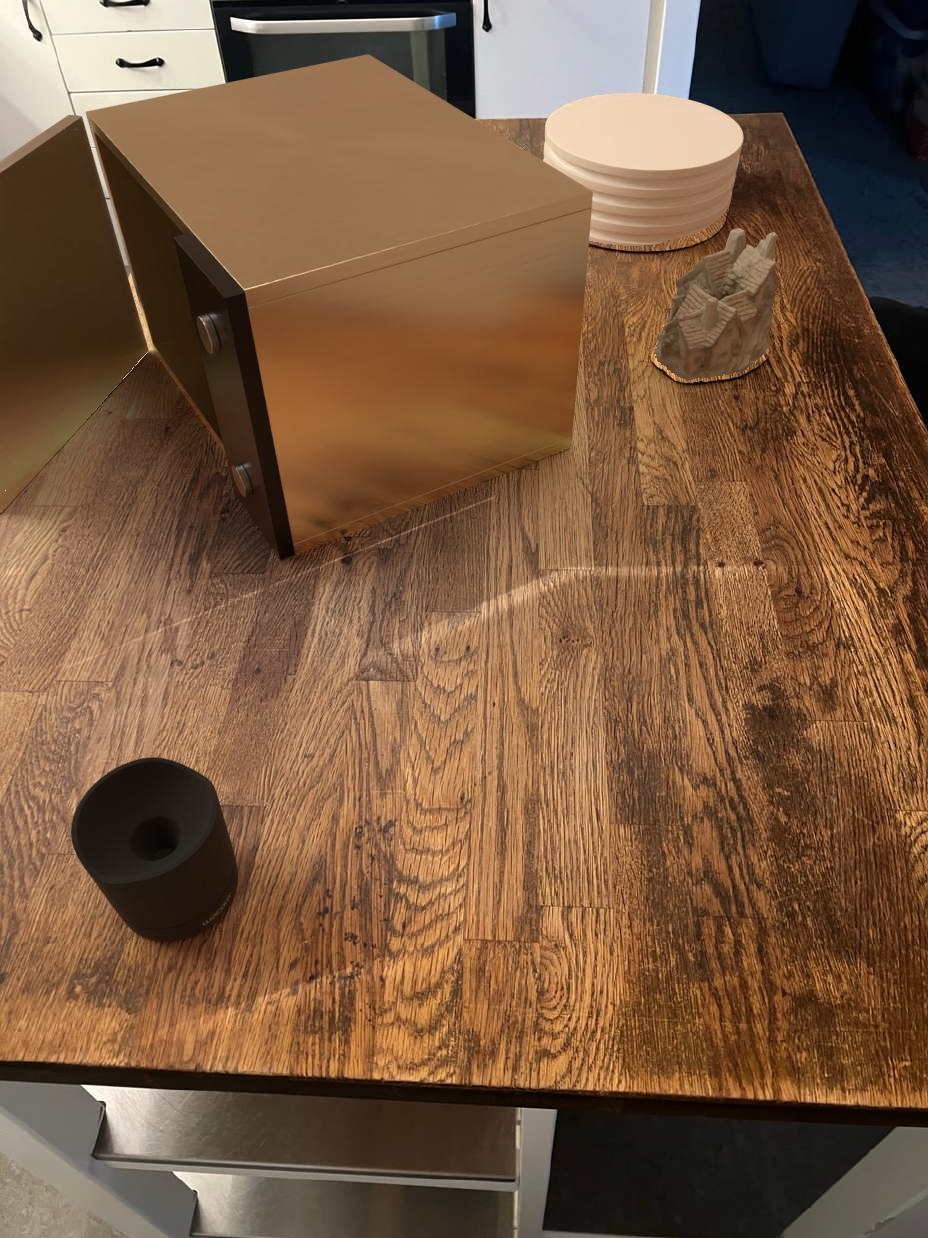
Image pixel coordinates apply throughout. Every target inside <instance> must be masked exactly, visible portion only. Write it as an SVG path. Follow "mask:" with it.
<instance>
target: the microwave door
mask: <svg viewBox="0 0 928 1238" xmlns="http://www.w3.org/2000/svg"><path fill="white" fill-rule="evenodd" d="M106 198H107V197H106V195H105V192H104V187H103V185H102V182H101V178H100V175H99V170H98V167H97V164H96V160H95V157H94V153H93V150H92V146H91V142H90V139H89V136H88V132H87V129H86V125H85V121H84V118H83V116H82V115H76V114H68V115H66V116H65V117H63V118H62V119H60V120H59V121H57V122H55V123H54V124H53V125H51V126H50V127H48V128H47V129H44V131H42V132H41V133H39V134H38V135H36V136H35V137H33V138H32V139H30V140H29V141H27V142H26V143H25V144H23V145H22V146H20V147H19V148H17V149H16V150H14V151H13V152H11V153H10V154H9V155H7V156H5V157H4V158H2V159H1V160H0V514H2V513H3V512H4V511H5V510H7V508H8V507H9V506H10V505H11V504H12V503H13V501H14V500H16V498H17V497H18V496H19V495H20V494H21V493H22V492H23V491H24V489H25V488H27V486H28V485H29V484H30V483H31V482H32V481H33V480H34V478H36V476H37V475H38V474H39V473H40V472H41V471H42V470H43V469H44V467H46V466H47V464H48V463H49V462H50V461H51V460H52V459H53V458H54V457H55V456H56V455H57V454H58V453H59V451H60V450H61V449H62V448H63V447H64V446H65V445H66V444H67V443H68V442H69V441H70V439H71V438H72V437H74V435H75V434H76V433H77V432H78V431H79V430H80V429H81V427H83V425H84V424H85V423H86V422H87V421H88V420H89V419H90V418H91V416H92V415H93V414H95V412H96V411H97V410H98V409H99V408H100V407H101V406H102V405H103V403H104V402H105V401H106V400H107V399H106V397H108V395H109V394H110V393H111V392H112V391H113V390H114V388H115V387H116V386H117V385H118V384H119V383H120V382H121V381H122V380H123V378H124V377H125V376H126V375H127V374H128V373H129V372H130V371H131V370H132V368H133V367H135V365H136V364H137V363H138V361H139V360H140V359H141V358H142V357H143V356H144V355H145V354H146V353H147V352H148V351H149V352H150V350H149V346H148V343H147V339H146V334H145V332H144V329H143V324H142V322H141V318H140V314H139V312H138V311H139V310H138V308H137V304H136V300H135V297H134V294H133V290H132V286H131V283H130V279H129V276H128V273H127V272H128V271H127V268H126V266H125V261H124V259H123V255H122V252H121V248H120V244H119V240H118V238H117V234H116V231H115V227H114V224H113V219H112V216H111V213H110V212H111V211H110V209H109V205H108V202H107V199H106ZM135 368H136V367H135ZM123 381H124V380H123ZM114 391H115V390H114ZM114 391H113V392H114ZM113 392H112V393H113ZM108 398H109V397H108ZM105 399H106V400H105ZM104 400H105V401H104ZM102 402H103V403H102ZM99 406H100V407H99ZM98 407H99V408H98ZM97 408H98V409H97ZM91 414H92V415H91ZM88 418H89V419H88ZM87 419H88V420H87ZM5 490H6V491H5Z"/></svg>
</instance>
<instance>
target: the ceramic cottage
mask: <svg viewBox="0 0 928 1238" xmlns="http://www.w3.org/2000/svg"><path fill="white" fill-rule="evenodd" d="M746 236H747V234H746V232H745V230H744V229H743V228H740V227H737V228H732V230H731V231H729V234H728V237H727V240H726V244H725V248H724V249H723V250H720V251H717V252H716V253H713V254H709V255H706V256H703V257H701V259H700V260H699V261H698V262H697V263H696V265H694V266H693V268H692V269H690V270H689V271H687V272H686V273H685V274H684V275H682V276H679V277H678V278H677V279H676V282H675V283H676V287H677V289H676V293H675V294H674V295H673V296H672V298H671V301H672V303H673V304H672V308H671V309H669V311H670V316H669V318H667V319H666V321H665V322H667V323H668V322H669V323H670V324H667V325H666V326H664V327H663V330H662V331H660V330H659V332H658V334H657V337H658V341H659V342H658V344H657V345H656V347H657V348H656V349H653V348H652V350H655V352H654V353H653V354H656V356H655V358H657V361H658V362H660V363H661V365H664V366H666V367H667V370H670V371H671V373H674V374H675V375H677V376H678V377H680V378H683V379H686V380H693V379H695V378H701V379H702V378H709V377H710V378H711V377H714V376H716V377H717V376H721V375H722V376H723V374H725V375H729V374H733V373H735V372H736V373H737V372H740V371H744V370H746V369H747V368H748V367H749V366H751V365H752V364H753V362H754V361H756V360H757V359H758V358H760V357H761V356H762V355H763V354H764V353H765V352H766V350H767V349H768V348H769V346H770V347H771V345H770V330H771V327H772V324H773V320H774V313H773V309H772V307H773V303H774V300H775V297H776V292H777V290H778V289H779V287H780V286H782V285H781V281H782V280H781V277H779V274H778V272H777V268H776V264H777V262H776V261H774V259H775V256H776V243H777V240H778V237H779V235H778V234H777V233H776V232H774V231H772V232H769V233H768V234H766V236H765V238H764V239H761V240H760V241H759V243H758V244H757V246H756V247H754V246H753V245H751V244H747V245H746V238H747V237H746ZM671 321H672V322H671Z"/></svg>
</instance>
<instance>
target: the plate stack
mask: <svg viewBox="0 0 928 1238" xmlns="http://www.w3.org/2000/svg"><path fill="white" fill-rule="evenodd" d="M544 127H545V128H544V143H543V159H542V161H544V162H545V163H547V164H549V165H550V166H552V167H554V168H555V169H557V170H558V171H560V172H562V173H563V174H565V175H567V176H568V177H570V178H572V179H573V180H575V181H576V182H578V183H580V184H581V185H583V186H585V187H586V188H588V189H589V190H591V191H593V198H592V212H591V224H590V236H589V241H593V242H599V243H603V244H612V245H624V246H644V245H655V244H660V243H663V242H664V241H666V240H667V241H668V240H671V241H672V240H673V239H676V238H681V237H684V236H690V235H692V234H694V233H696V232H699V231H701V230H703V229H704V228H707V227H708V226H710V225H711V224H713V223H714V222H715V221H716V220H717V219H718V218H720V217H721V216H722V215H723V214H724V213H725V212H726V210H727V209H728V210H729V207H730V205H731V201H732V196H733V189H734V186H735V182H736V176H737V170H738V169H739V168H738V167H739V164H740V154H741V151H742V149H743V143H744V132H743V130H742V127H741V126H740V125H739V123H738V122H737V121H735V119H733V118H732V117H731V116H730V115H728V114H727V113H725V112H722V111H721V110H719V109H717V108H715V107H713V106H710V105H708V104H705V103H702V102H698V101H695V100H691V99H687V98H683V97H679V96H672V95H666V94H659V93H658V94H657V93H646V92H616V93H605V94H597V95H591V96H586V97H583V98H579V99H576V100H572V101H570V102H568V103H565V104H563V105H561V106H559V107H558V108H556V109H555V110H554V111H552V113H550V114H549V116H548V117H547V119H546V121H545V126H544ZM667 241H666V242H667ZM671 241H670V242H671ZM666 242H664V243H666ZM668 243H669V242H668Z"/></svg>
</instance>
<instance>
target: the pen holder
mask: <svg viewBox="0 0 928 1238" xmlns="http://www.w3.org/2000/svg"><path fill="white" fill-rule="evenodd" d="M221 806H222V805H221V802H220V800H219V796H218V793H217V790H216V787H215V786H214V783H213V782H212V781H211V779H209V778H208V777H207V776H205V775H204V774H202V773H200V772H199V771H197V770H195V769H193V768H191V767H189V766H187V765H185V764H183V763H180V762H178V761H175V760H172V759H169V758H164V757H157V756H152V757H151V756H150V757H142V758H138V759H133V760H130V761H128V762H125V763H123V764H121V765H119V766H117V767H115V768H113V769H111V770H110V771H108V772H106V774H104V775H103V776H102V777H100V778H99V779H98V780H97V781H96V782H94V783H93V784H92V786H90V788H89V789H88V790H87V791H86V792H85V794H84V795H83V796H82V798H81V799H80V801H79V803H78V805H77V807H76V809H75V812H74V814H73V816H72V821H71V828H70V836H71V843H72V848H73V850H74V852H75V854H76V857H77V858H78V860H79V862H80V863H81V865H82V866H83V868H84V870H85V871H86V873H88V875H89V876H90V878H91V879H92V881H93V882H94V884H96V886H97V887H98V889H99V890H100V892H101V893H102V894H103V896H104V897H105V899H106V900H107V901H108V902H109V903H108V904H110V905H111V907H112V908H113V910H114V911H115V912H116V914H118V917H120V919H121V920H122V921H123V923H124V924H125V925H126V926H127V927H128V928H129V929H130V930H131V931H133V932H134V933H135V934H137V935H138V936H140V937H142V938H144V939H146V940H150V941H153V942H160V943H161V942H162V943H170V942H179V941H183V940H186V939H189V938H192V937H195V936H197V935H199V934H201V933H203V932H205V931H206V930H208V929H209V928H210V927H212V926H214V924H215V923H216V922H217V921H219V920H220V919H221V917H222V916H223V915H224V914H225V913H226V912H227V910H228V908H229V907H230V905H231V903H232V902H233V899H234V897H235V895H236V892H237V888H238V884H239V883H238V881H239V870H238V864H237V859H236V855H235V852H234V847H233V844H232V841H231V837H230V834H229V830H228V826H227V823H226V820H225V817H224V813H223V809H222V807H221Z"/></svg>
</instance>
